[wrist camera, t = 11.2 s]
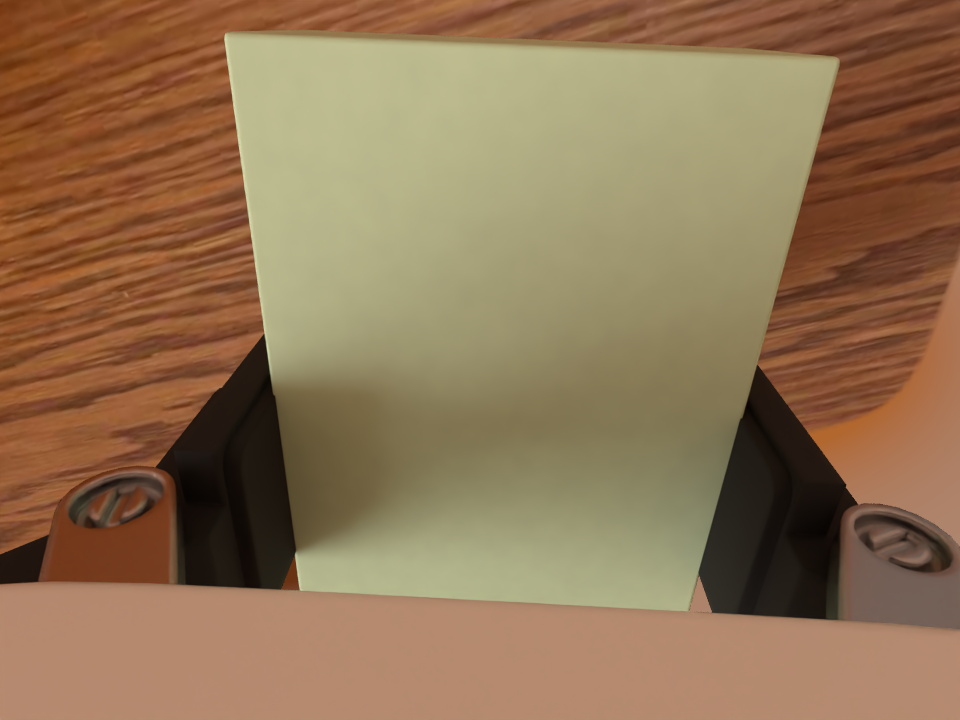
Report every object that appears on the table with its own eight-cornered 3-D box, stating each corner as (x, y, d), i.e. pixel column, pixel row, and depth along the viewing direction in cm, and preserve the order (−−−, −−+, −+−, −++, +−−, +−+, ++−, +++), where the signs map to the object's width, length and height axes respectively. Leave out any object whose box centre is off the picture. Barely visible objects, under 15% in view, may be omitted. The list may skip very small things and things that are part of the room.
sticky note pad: (301, 29, 9) (220, 31, 7) (748, 48, 9) (844, 57, 7) (350, 599, 15) (317, 722, 12) (628, 614, 15) (654, 741, 12)
